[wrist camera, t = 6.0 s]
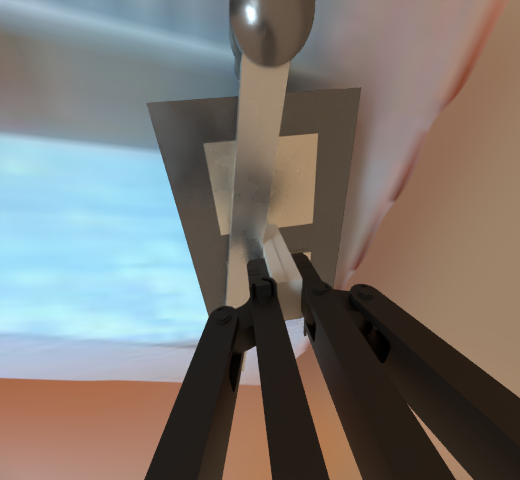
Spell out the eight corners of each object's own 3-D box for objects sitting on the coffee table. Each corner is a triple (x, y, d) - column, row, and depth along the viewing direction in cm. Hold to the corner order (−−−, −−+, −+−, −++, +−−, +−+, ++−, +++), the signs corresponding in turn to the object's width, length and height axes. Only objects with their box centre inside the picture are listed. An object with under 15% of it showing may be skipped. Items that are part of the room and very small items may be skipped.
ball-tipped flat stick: (231, -22, 9) (232, -75, 6) (301, -3, 9) (325, -45, 7) (216, 349, 21) (215, 376, 18) (247, 347, 21) (250, 373, 19)
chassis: (145, 50, 14) (101, 8, 9) (345, 40, 15) (400, -2, 10) (214, 311, 26) (211, 352, 21) (320, 294, 27) (339, 329, 22)
